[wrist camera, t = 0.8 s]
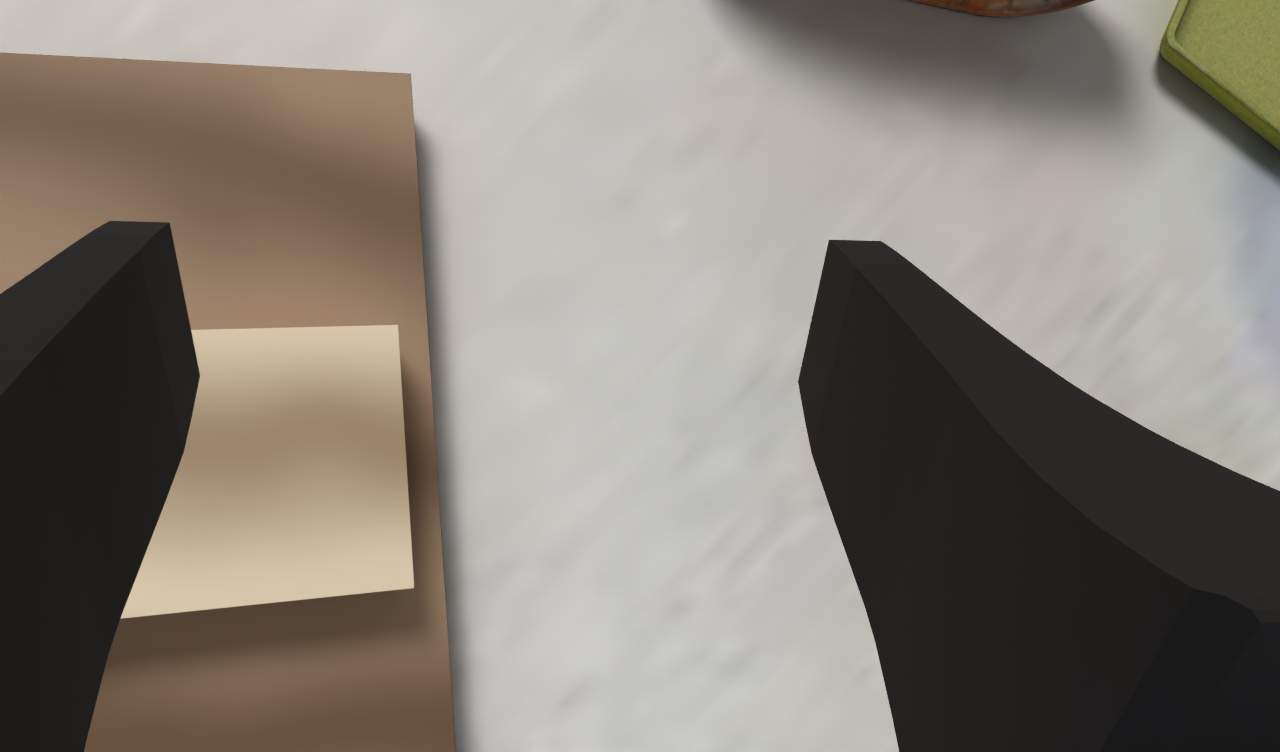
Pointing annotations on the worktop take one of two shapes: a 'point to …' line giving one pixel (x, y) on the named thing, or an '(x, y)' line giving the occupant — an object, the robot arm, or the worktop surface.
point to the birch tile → (285, 474)
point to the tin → (1005, 6)
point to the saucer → (1231, 56)
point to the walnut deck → (241, 299)
